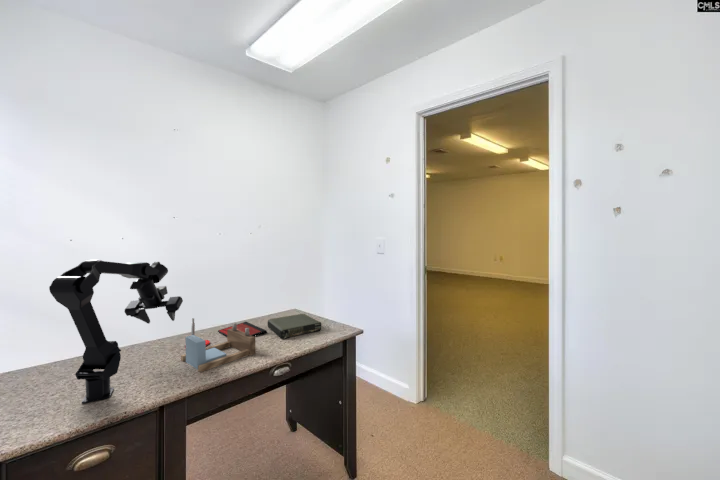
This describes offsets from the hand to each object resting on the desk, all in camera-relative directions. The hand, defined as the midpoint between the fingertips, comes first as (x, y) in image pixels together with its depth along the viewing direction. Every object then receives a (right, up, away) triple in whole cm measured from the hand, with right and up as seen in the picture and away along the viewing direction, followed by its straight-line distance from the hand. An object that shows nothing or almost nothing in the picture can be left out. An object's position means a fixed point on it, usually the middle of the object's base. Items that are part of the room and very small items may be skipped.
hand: (161, 321), depth 123 cm
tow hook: (+8, -14, +12) cm, 20 cm away
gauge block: (+20, -14, -4) cm, 25 cm away
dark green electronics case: (+46, -14, +33) cm, 58 cm away
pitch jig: (+23, -14, 0) cm, 27 cm away
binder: (+21, -14, +29) cm, 38 cm away
